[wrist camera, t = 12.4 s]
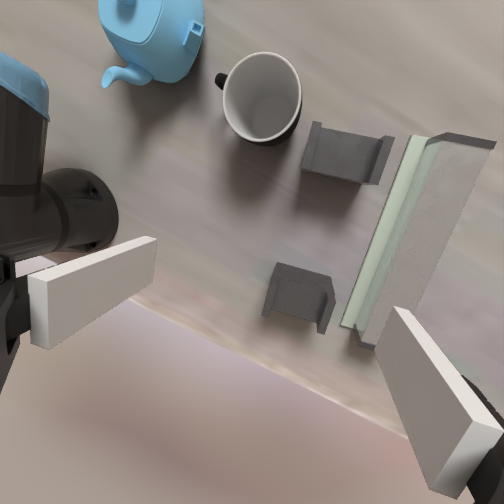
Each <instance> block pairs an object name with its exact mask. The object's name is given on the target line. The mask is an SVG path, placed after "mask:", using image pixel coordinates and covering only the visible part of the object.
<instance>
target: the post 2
mask: <svg viewBox="0 0 504 504" xmlns="http://www.w3.org/2000/svg"><path fill="white" fill-rule="evenodd" d="M321 125H322V123H320V122H315V121H313V123H312V126H311V130H310V134H309V138H308V141H307V145H306V149H305V153H304V157H303V160H302V164H301V168H300V169H301V171H305V172H309V173H314V174H318V175H323V176H327V177H332V178H336V179H340V180H345V181H349V182H354V183H358V184H364V185H378V184H379V181H380V178H381V175H382V173H383V170H384V167H385V164H386V161H387V159H388V156H389V153H390V150H391V147H392V145H393V142H394V139H395V137H391V136H386V135H385V136H384V137H382V138H380V139H376V138H371V137H366V136H361V135H356V134H351V133H346V132H341V131H337V130H332V129H327V128H322V127H321Z"/></svg>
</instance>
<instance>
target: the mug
mask: <svg viewBox="0 0 504 504" xmlns="http://www.w3.org/2000/svg"><path fill="white" fill-rule="evenodd" d="M215 83H216V85H217V86H218V87H219V88H220V89H221V90H223V95H222V105H223V111H224V115H225V117H226V120H227V122H228V124H229V125H230V127H231V128H232V130H233V131H234V132H235V133H236V134H237V135H239V136H240V137H241V138H243V139H244V140H246V141H248V142H250V143H253V144H256V145H261V146H273V145H277V144H280V143H282V142H283V141H285V140H286V139H287V138H288V137H289V136H290V135H291V134H292V133H293V131H294V130H295V128H296V126H297V123H298V121H299V118H300V114H301V108H302V88H301V83H300V79H299V77H298V74H297V72H296V71H295V69H294V67H293V66H292V65H291V64H290V63H289V62H288V61H287V60H286V59H285V58H283V57H282V56H280V55H278V54H275V53H271V52H258V53H254V54H251V55H249V56H247V57H245V58H243V59H242V60H241V61H239V62H238V63H237V64H236V65H235V66H234V68H233V69H232V70H231V72H230V73H229V75H225V74H223V73H218V74H217V76H216V78H215Z"/></svg>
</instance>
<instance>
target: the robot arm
mask: <svg viewBox="0 0 504 504" xmlns="http://www.w3.org/2000/svg"><path fill="white" fill-rule="evenodd" d="M48 105H49V90H48V86H47V84H46V82H45V81H44V79H43V78H42V77H41V76H40V75H39V74H38V73H37V72H35V71H34V70H32V69H31V68H29V67H27V66H26V65H24V64H22V63H21V62H19V61H17V60H15V59H14V58H12V57H10V56H8V55H6V54H5V53H3V52H1V51H0V393H1V391H2V388H3V385H4V383H5V380H6V378H7V375H8V373H9V370H10V368H11V365H12V363H13V360H14V358H15V355H16V352H17V350H18V348H19V345H20V335H21V334H22V333H25V332H27V331H28V330H30V335H31V344H34V345H36V346H39V347H42V348H45V349H47V350H49V349H51V348H53V347H54V346H56V345H57V344H59V343H60V342H62V341H63V340H65V339H66V338H68V337H69V336H71V335H73V334H74V333H75V332H77V331H79V330H80V329H82V328H83V327H85V326H86V325H88V324H89V323H91V322H92V321H94V320H96V319H97V318H99V317H100V316H102V315H103V314H105V313H106V312H108V311H109V310H111V309H112V308H114V307H115V306H117V305H118V304H120V303H122V302H123V301H124V300H126V299H128V298H129V297H131V296H132V295H134V294H135V293H137V292H138V291H140V290H141V289H143V288H145V287H146V286H148V285H149V284H151V283H152V282H153V273H154V264H155V255H156V246H157V239H155V238H151V237H148V236H143V237H140V238H137V239H134V240H131V241H128V242H125V243H122V244H119V245H116V246H113V247H110V248H107V249H104V250H101V251H98V252H95V253H92V254H89V255H86V256H83V257H80V258H77V259H74V260H71V261H66V262H63V263H60V264H57V265H56V266H52V267H48V268H47V269H42V270H40V271H36V272H33V273H30V274H28V275H24V276H21V277H18V278H16V273H15V262H19V261H22V260H26V259H29V258H33V257H36V256H40V255H44V254H47V253H51V252H54V251H59V252H79V253H84V252H90V251H94V250H97V249H100V248H102V247H104V246H106V245H107V244H108V243H109V242H110V241H111V240H112V239H113V237H114V235H115V233H116V230H117V226H118V210H117V205H116V202H115V199H114V197H113V195H112V193H111V191H110V190H109V188H108V187H107V186H106V184H105V183H104V182H103V181H102V180H101V179H100V178H99V177H97V176H96V175H94V174H93V173H91V172H89V171H86V170H83V169H74V168H62V169H57V170H54V171H51V172H48V173H45V174H43V164H44V155H45V146H46V137H47V127H48V122H50V117H49V115H48ZM42 174H43V175H42ZM374 352H375V354H376V357H377V360H378V362H379V365H380V367H381V370H382V372H383V375H384V377H385V380H386V382H387V385H388V387H389V390H390V392H391V395H392V397H393V400H394V402H395V405H396V407H397V410H398V413H399V415H400V418H401V420H402V423H403V425H404V428H405V430H406V433H407V435H408V438H409V440H410V443H411V445H412V448H413V450H414V453H415V455H416V458H417V460H418V463H419V466H420V468H421V470H422V473H423V475H424V478H425V481H426V483H427V485H428V488H429V490H432V491H435V492H437V493H440V494H443V495H445V496H448V497H451V498H454V499H456V500H457V498H458V497H459V495H460V494H461V493H462V491H463V490H464V488H465V487H466V485H467V487H468V488H469V490H470V492H471V494H472V496H473V498H474V500H475V502H474V503H473V504H504V419H503V418H502V417H501V416H500V414H499V413H498V412H496V411H495V410H496V409H495V408H494V407H493V406H492V405H491V403H490V402H488V401H487V399H486V397H485V396H484V395H483V394H482V393H481V391H480V390H479V389H478V388H477V387H476V386H475V385H474V384H473V383H471V382H470V381H469V380H468V379H467V378H466V377H464V376H463V375H460V374H459V373H458V371H457V370H456V369H455V368H454V366H453V365H452V364H451V363H450V361H449V360H448V359H447V358H446V356H445V355H444V354H443V353H442V351H441V350H440V349H439V347H438V346H437V345H436V344H435V342H434V341H433V340H432V339H431V337H430V336H429V335H428V334H427V332H426V331H425V330H424V329H423V327H422V326H421V325H420V323H419V322H418V321H417V320H416V318H415V317H414V316H413V315H412V313H411V312H410V311H409V310H406V309H403V308H399V307H396V306H393V308H392V310H391V312H390V314H389V317H388V319H387V321H386V324H385V326H384V328H383V331H382V333H381V335H380V337H379V340H378V342H377V344H376V347H375V349H374Z"/></svg>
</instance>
